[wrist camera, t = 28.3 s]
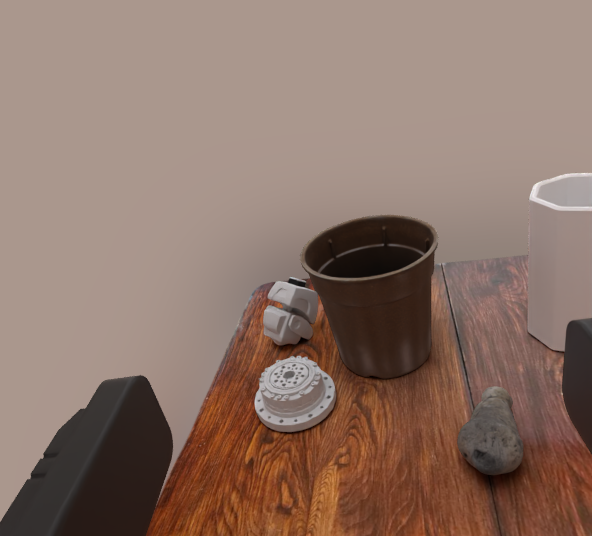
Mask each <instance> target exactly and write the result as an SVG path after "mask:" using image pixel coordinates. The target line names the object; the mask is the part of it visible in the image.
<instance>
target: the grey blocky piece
mask: <svg viewBox="0 0 592 536" xmlns="http://www.w3.org/2000/svg"><path fill="white" fill-rule="evenodd" d="M305 284H306V281H303V280H300V279H296V278H292V277H290V279H289V282H288V283H287V282H282V281H277V282H276V283H275V285H274V286H273V287H272V289H271V290H270V292H269V294H268V299H271V300H275V301H278V302H279V303H281V304H282V305H283V309H281V308H277V307H273V306H268V307H267V308H266V310H265V311H264V317H263V324H264V334H265V335H266V336H268V337H270V338H271V339H272V340H273V341H274V342H275V343H276V344H277V345H285V344H288V343H289V344H297V343H298V342H299V340H300V338H301V337H302V338H306V339H310V338H311V337H312V335H313V330H312V327H311V325H310V324H309V323H311V324H314V323H315V321H316V316H317V310H318V293H317V292H315V291H312V290H310V289H307V288H305ZM307 320H308V321H307Z"/></svg>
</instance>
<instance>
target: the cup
mask: <svg viewBox="0 0 592 536" xmlns="http://www.w3.org/2000/svg"><path fill="white" fill-rule="evenodd" d="M586 318H592V173H572V174H564V175H561V176H558V177H555V178H551V179H548V180H545V181H542V182H539V183H537V184H535V185H534V186H533V189H532V192H531V195H530V198H529V251H528V332H529V333H530V334H532V335H533V336H534V337H536V338H537V339H538V340H540V341H541V342H542V343H544V344H545V345H546V346H548V347H549V348H550V349H552V350H557V351H564V352H565V339H566V328H567V325H568V323H569V322H570V321H572V320H579V319H586Z"/></svg>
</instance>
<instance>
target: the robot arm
mask: <svg viewBox="0 0 592 536" xmlns="http://www.w3.org/2000/svg"><path fill="white" fill-rule="evenodd" d="M562 392H563V398H564V403H565V406H566V409H567V412H568V415H569V417H570V419H571V421H572V423H573V424H574V426H575V428H576V429H577V431H578V433H579V434H580V436H581V438H582V439H583V441H584V442H585V444H586V446H587V447H588V449H589V451H590V452H591V454H592V318H586V319H579V320H572V321H570V322H569V323H568V325H567V328H566V339H565V353H564V367H563V381H562ZM172 452H173V440H172V434H171V430H170V427H169V425H168V423H167V421H166V418H165V416H164V414H163V412H162V410H161V407H160V405H159V403H158V401H157V398H156V396H155V394H154V392H153V389H152V387H151V385H150V383H149V381H148V380H147V378H145V377H144V376H141V375H140V376H132V377H125V378H118V379H111V380H105V381H103V382H102V383H101V384H100V386H99V387H98V389H97V390H96V392H95V394H94V395H93V397H92V399H91V400H90V402H89V404H88V405H87V407H86V408H85V409H80V410H79V411H78V412H77V413H76V414H75V415H74V416H73V417H72V418H71V419H70V420H69V421H68V422H67V423H66V424H64V425H63V426H62V427H61V428H60V429H59V430H58V432H57V433H56V435H55V436H54V438H53V440H52V441H51V443H50V444H49V446H48V448H47V449H46V451H45V452H44V458H43V459H40V460H39V462H38V463H37V465H36V466H35V468H34V470H33V471H32V473H31V479H28V480H27V481H26V482H25V484H24V486H23V487H22V489H21V490H20V492H19V493H18V495H17V497H16V498H15V500H14V501H13V503H12V504H11V506H10V508H9V509H8V511H7V512H6V514H5V515H4V517H3V519H2V521H1V522H0V536H146V533H147V530H148V527H149V524H150V521H151V518H152V515H153V513H154V510H155V507H156V504H157V501H158V498H159V495H160V492H161V489H162V486H163V483H164V480H165V477H166V474H167V471H168V468H169V465H170V462H171V458H172Z"/></svg>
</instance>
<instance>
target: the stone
mask: <svg viewBox="0 0 592 536" xmlns="http://www.w3.org/2000/svg"><path fill="white" fill-rule="evenodd" d="M481 399H482V401H481V402H480V403H479V404H477V406H476V407H475V409H474V411H473V413H472V416H471V419H470V421H469V422H467V423H466V424H465V425H464V426H463V427H462V428H461V430H460V432H459V435H458V441H457V444H458V448H459V451H460V452H461V454H462V455H463V457H464V458H465V459H466V460H467V461H468V462H469V463H470V464H471V465H472V466H473V467H475V468H476V469H477V470H478V471H480V472H482V473H484V474H488V475H498V474H504V473H509V472H512V471H513V470H515V469H516V468H517V467H518V466H519V465H520V463H521V461H522V457H523V443H522V440H521V439H520V436H519V433H518V430H517V425H516V422H515V420H514V416H513V414H512V412H511V410H510V409H511V407H512V404H513V402H512V398H511V396H509V394H508V392H507V391H506V390H505V389H504V388H501V387H489V388H487V389H486V390H485V391H484V392H483V394H482V397H481Z"/></svg>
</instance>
